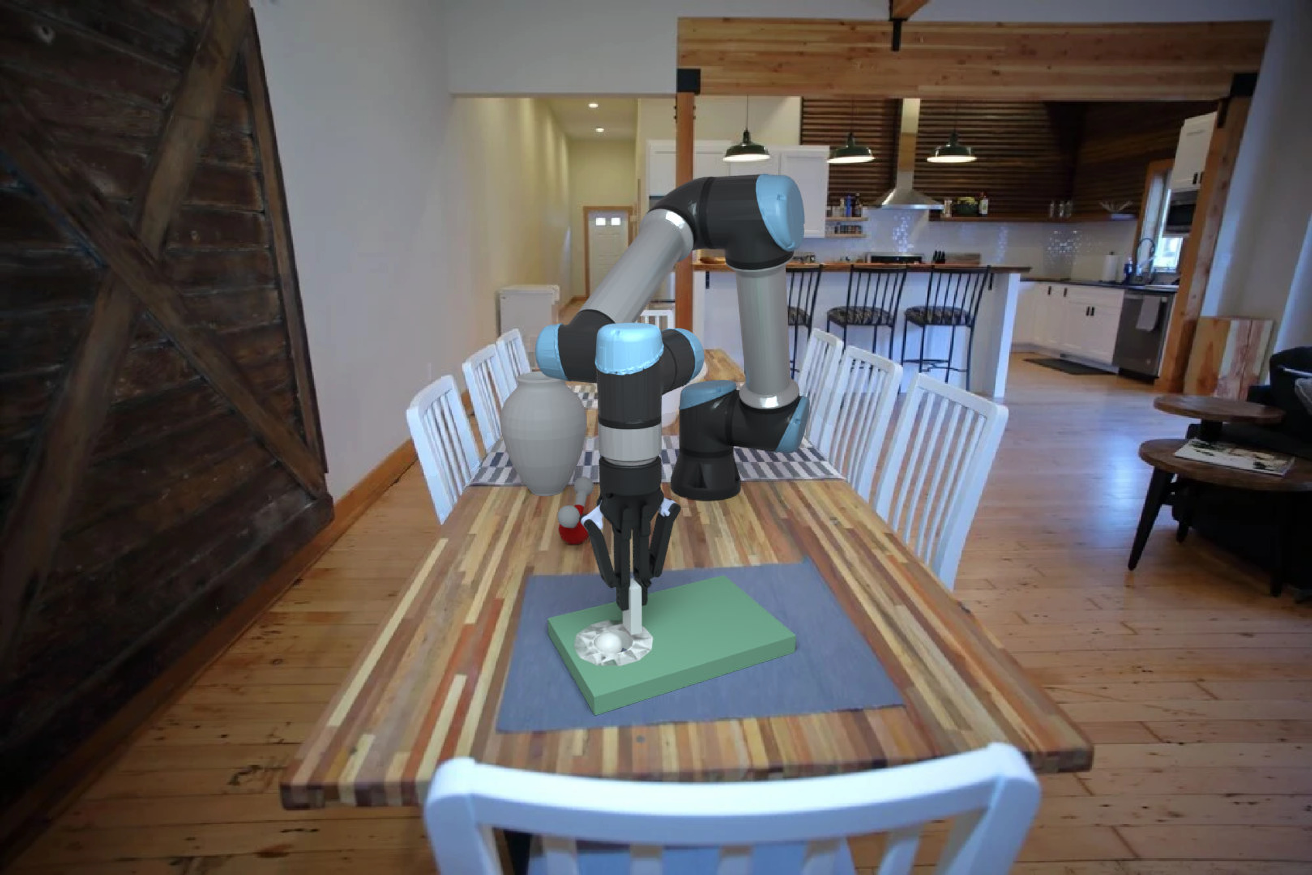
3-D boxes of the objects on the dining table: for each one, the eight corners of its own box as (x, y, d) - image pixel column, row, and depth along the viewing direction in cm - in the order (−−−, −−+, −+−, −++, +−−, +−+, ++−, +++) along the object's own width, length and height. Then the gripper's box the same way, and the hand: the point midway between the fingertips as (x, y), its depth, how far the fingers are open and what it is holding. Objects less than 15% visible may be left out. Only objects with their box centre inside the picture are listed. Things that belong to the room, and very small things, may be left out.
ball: (589, 648, 88) (609, 667, 87) (587, 648, 84) (609, 667, 84) (607, 626, 89) (627, 645, 88) (606, 625, 85) (627, 644, 85)
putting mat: (723, 589, 104) (724, 574, 103) (794, 652, 88) (796, 635, 87) (548, 634, 92) (547, 618, 91) (594, 715, 76) (594, 697, 76)
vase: (489, 488, 145) (480, 375, 137) (558, 470, 156) (553, 364, 149) (534, 513, 132) (527, 389, 125) (605, 490, 143) (602, 376, 136)
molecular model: (581, 566, 111) (579, 510, 108) (548, 565, 111) (545, 509, 108) (598, 523, 127) (597, 473, 124) (569, 522, 128) (567, 472, 125)
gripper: (665, 440, 86) (664, 603, 93) (567, 453, 80) (574, 626, 87) (693, 456, 79) (690, 630, 86) (589, 473, 74) (595, 657, 81)
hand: (632, 628), depth 87 cm, fingers closed
